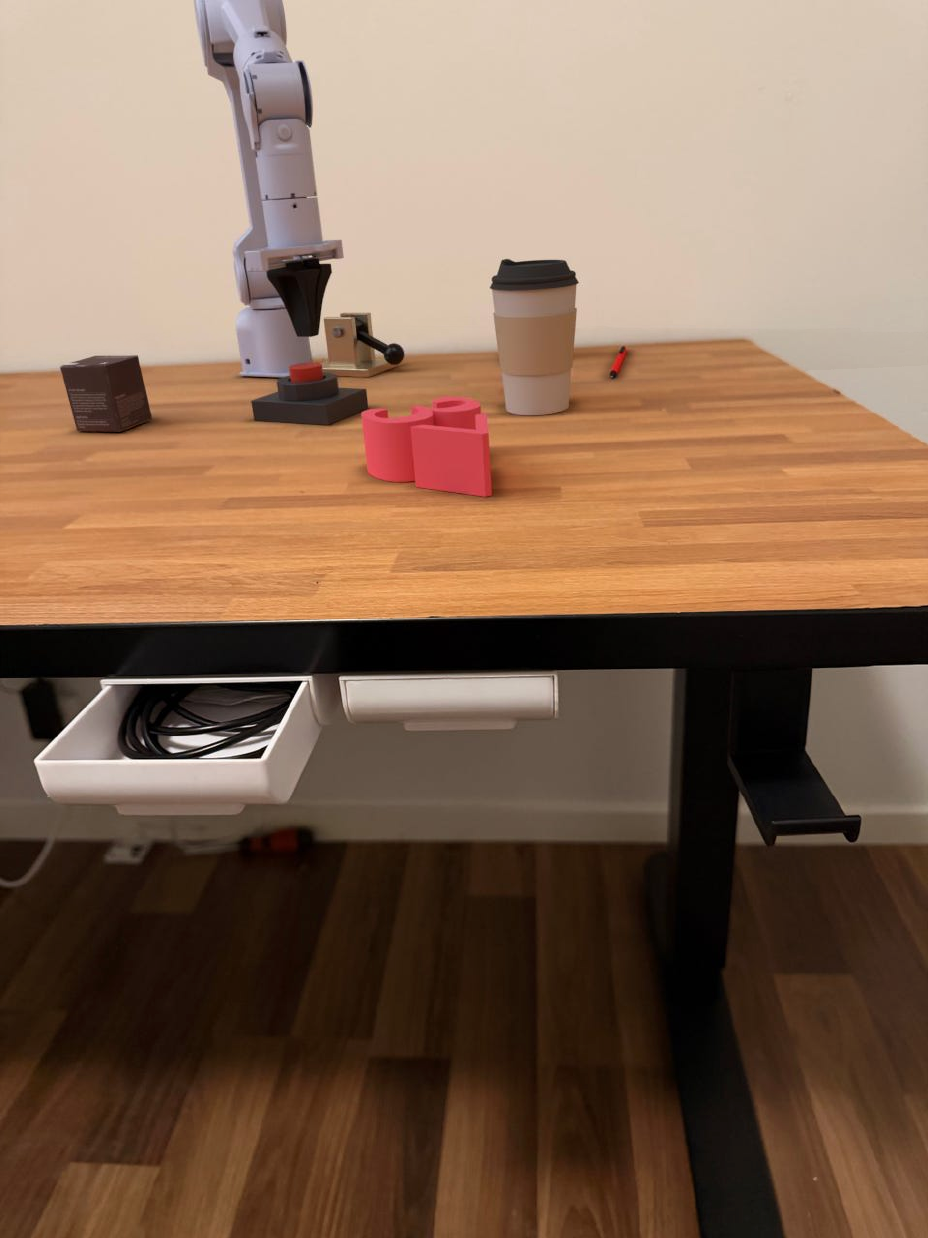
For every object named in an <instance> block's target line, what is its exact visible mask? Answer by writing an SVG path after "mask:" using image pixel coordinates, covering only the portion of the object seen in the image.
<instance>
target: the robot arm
mask: <svg viewBox="0 0 928 1238" xmlns="http://www.w3.org/2000/svg"><path fill="white" fill-rule="evenodd" d="M193 7H194V14H195V21H196V27H197V34H198V39H199V43H200V49H201V53H202V54H201V55H202V60H203V66H204V67H205V68H206V72H207V75H208V76H209V77H212V78H214V79H216V80H217V81H220V82H221V83H222V85H223V86H224V89H225V91H226V94H227V97H228V99H229V101H230V102H229V103H230V105H231V106H230V107H231V112H232V119H233V126H234V132H235V138H236V144H237V152H238V158H239V165H240V170H241V177H242V184H243V191H244V196H245V203H246V211H247V216H248V223H249V227H248V228H247V229H246V230H245V231H244V232H243V233H242V234H241V235H240V236H239V237H238V238H237V239H236V240H235V241H234V243H233V247H232V256H233V268H234V269H233V270H234V277H235V283H236V288H237V294H238V298H239V301H240V303H242V304H243V305H244V306H246V307H244V308H243V309H241V310H240V312H239V313H238V314H237V317H236V322H235V332H236V333H235V334H236V338H237V345H238V352H239V356H240V363H241V369H242V371H240V372H239V373H238V375H239V377H259V378H260V377H261V378H283V377H286V376H290V372H289V366H291V365H295V364H300V363H313V356H312V349H311V348H312V347H311V339H310V338H313V337H316V336H317V337H318V336H319V334H320V326H321V316H322V308H323V301H324V298H325V297H324V296H325V292H326V289H327V285H328V283H329V280H330V278H331V275H332V274H333V270H332V269H333V268H332V263H320V262H323V261H329V260H341V259H344V247H343V240H342V239H325V240H324V237H323V232H322V223H321V222H322V221H321V216H320V215H321V214H320V206H319V197H318V191H317V190H318V188H317V181H316V173H315V172H316V171H315V163H314V157H313V148H312V146H313V145H312V139H311V132H310V131H311V130H310V129H311V128H312V126H313V118H314V117H313V116H314V101H313V92H312V91H313V89H312V85H311V79H310V76H309V73H308V69H307V65H306V63H305V61H304V60H303V59H297V60H295V61H294V62H293V59H292V57H291V55H290V52H289V50H288V48H287V43H288V35H287V34H288V33H287V31H288V30H287V21H286V12H285V6H284V2H283V0H193ZM247 306H248V307H247Z"/></svg>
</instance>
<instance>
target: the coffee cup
mask: <svg viewBox="0 0 928 1238" xmlns="http://www.w3.org/2000/svg"><path fill="white" fill-rule="evenodd" d="M576 274H577V273H576V271H574V270H571V269H570V267H569V265H568V262H567V260H565V259H535V260H522V261H520V260H519V261H514V260H511V259H510V258H505V259H501V261H500V263H499V267H498V271H497V274H496V275H493V276H492V277H491V284H490V286H489V289H490V290H491V292H492V301H493V302H492V303H493V309H494V312H493V313H492V314H493V322H494V323H493V324H494V329H495V339H496V346H497V353H498V354H497V355H498V360H499V361H498V363H499V370H500V372H501V378H502V386H503V393H504V395H503V396H504V403H505V411H506V412H507V413H510V414H513V415H517V416H541V415H542V416H544V415H552V414H557V413H560V412H563V411H566V410H567V409H569V407H570V392H571V375H572V369H573V364H574V354H575V353H574V351H575V339H576V325H577V313H578V312H577V310H578V308H577V307H576V300H577V285H578V284H580V282H579V280H578V278H577V275H576Z"/></svg>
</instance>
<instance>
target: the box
mask: <svg viewBox="0 0 928 1238" xmlns="http://www.w3.org/2000/svg"><path fill="white" fill-rule="evenodd" d="M59 369H60V372H61V375H62V380H63V384H64V387H65V391H66V394H67V398H68V402H69V406H70V409H71V414H72V417H73V421H74V424H75V428H76V431H77V432H114V433H115V432H117V433H121V432H124V431H126V430H129V429H131V428H134V427H136V426H140V425H141V424H144V423H147V422H149V421H151V420H152V418H153V417H152V412H151V409H150V408H151V407H150V404H149V403H150V402H149V399H148V394H147V390H146V386H145V381H144V377H143V372H142V367H141V364H140V359H139V355H137V354H136V355H135V354H134V355H132V354H131V355H93V356H90V357H86V358H82V359H78V360H75V361H72V362H68V363H65V364H62V365H60V367H59Z"/></svg>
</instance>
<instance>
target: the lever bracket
mask: <svg viewBox="0 0 928 1238" xmlns="http://www.w3.org/2000/svg"><path fill="white" fill-rule="evenodd" d="M346 315H348V316H349V317H342V316H346ZM355 320H357V321H358V322H360V323H362V324H363V328H362V331H363V332H365V333H367V334H369V335H371V336H372V337H374V333H373V332H374V331H373V323H372V313H371V312H342V313H340V314H339V316H326V317H323V326H324V334H325V341H326V350H327V359H328V360H326V361H323V362H320V363H321V364H322V369H323V373H332V374H336V375H337V377H350V378H351V377H355V378H370V377H373V376H376V375H378V374H381V373H384V372H386V371H389V370H391V369H394V368H397V367H399V366H400V364H398V365H391V364H389V363H387V362H386V360H385V358H383V357H376V353H375V352H376V350H375V349H374V348H372V347H370V346H368V345H366V344H365V343H363V342H361V341H357V334H356V325H355Z"/></svg>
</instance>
